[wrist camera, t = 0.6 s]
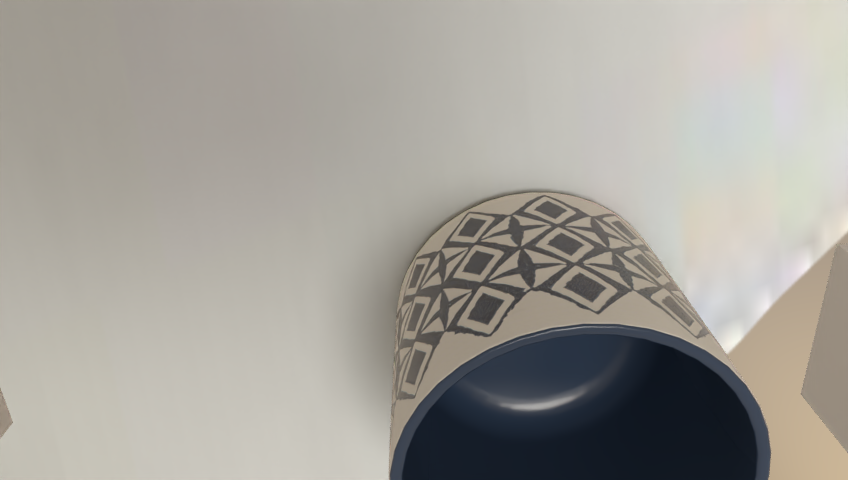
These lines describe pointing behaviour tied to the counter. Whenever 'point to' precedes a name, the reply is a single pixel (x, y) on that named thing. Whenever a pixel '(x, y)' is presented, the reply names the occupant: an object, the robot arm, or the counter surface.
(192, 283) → the counter surface
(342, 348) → the counter surface
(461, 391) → the planter
